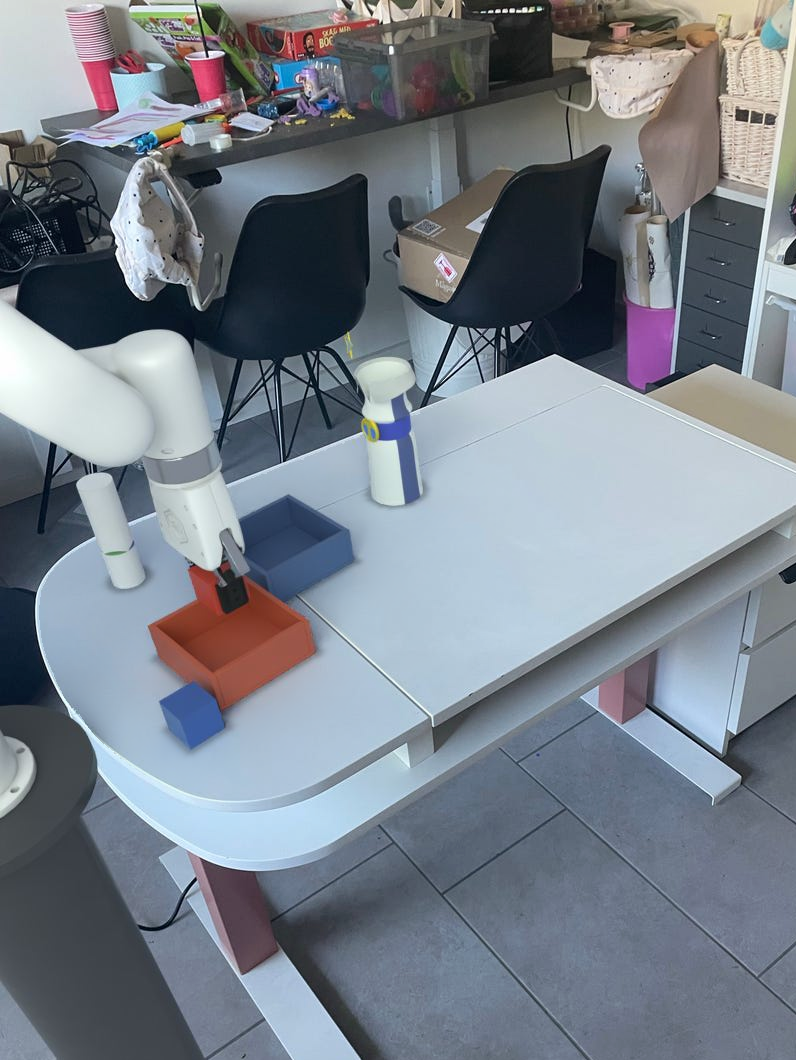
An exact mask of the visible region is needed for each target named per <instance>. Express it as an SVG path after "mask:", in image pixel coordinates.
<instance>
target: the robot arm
mask: <svg viewBox="0 0 796 1060" xmlns="http://www.w3.org/2000/svg"><path fill="white" fill-rule="evenodd" d="M0 414H2V415H4V416H5V417H6V418H8V419H10V420H12V421H14V422H15V423H18V424H19V425H21V426H22V427H24V428H26V429H28V430H29V431H31V432H33V433H35V434H37V435H38V436H40V437H42V438H44V439H46V440H48V441H50V442H51V443H53V444H54V445H57V446H59V447H60V448H62V449H64V450H66V451H68V452H70V453H72V454H74V455H75V456H77V457H79V458H81V459H82V460H84V461H86V462H89V463H91V464H92V465H93V464H94V465H96V466H98V467H99V466H100V467H105V468H119V467H124V466H127V465H130V464H133V463H134V462H136V461H138V460H139V459H141V462H142V465H143V468H144V471H145V474H146V477H147V480H148V485H149V491H150V495H151V498H152V502H153V507H154V510H155V513H156V516H157V521H158V525H159V528H160V530H161V534H162V537H163V539H164V540H165V541H166V542H167V544H168V545H169V546H170V547H171V548H173V549H174V550H175V551H176V552H178V553H180V555H182V556H183V557H184V559H185V561H186V563H187V564H188V565H189V566H188V569H189V568H191V567H193V566H195V565H198V566H199V567H201V568H203V569H205V570H208V571H213V573H214V575H215V578H216V580H217V583H218V584H216V585H215V588H216V591H217V595H218V598H219V601H220V604H221V608H222V611H223V612H224V613H225V614H229V613H231V612H233V611H234V610H236V609H238V608H240V607H241V606H243V605H245V604H247V603H248V601H249V598H248V594H247V591H246V587H245V583H244V580H243V577H244V574H245V573H247V572H249V571H250V568H249V566H248V564H247V563H246V561H245V559H244V557H243V556H242V555H243V554H244V551H245V545H244V539H243V535H242V531H241V527H240V524H239V521H238V519H239V518H238V515H237V514H238V513H237V512H236V508H235V505H234V503H233V499H232V497H231V494H230V492H229V489H228V486H227V484H226V481H225V479H224V477H223V474H222V472H221V469H222V467H223V460H222V457H221V456H222V455H221V453H220V449H219V446H218V442H217V441H218V440H217V438H216V434H215V431H214V428H213V424H212V421H211V420H212V419H211V416H210V413H209V409H208V405H207V401H206V398H205V394H204V390H203V386H202V382H201V379H200V375H199V370H198V367H197V363H196V360H195V355H194V352H193V350H192V346H191V344H190V343H189V341H188V340H187V339H186V338H185V337H184V336H183V335H182V334H180V333H178V332H176V331H174V330H170V329H149V330H143V331H139V332H135V333H131V334H128V335H127V336H125V337H123V338H121V339H119V340H118V341H117V342H115V343H111V344H107V345H106V344H105V345H102V346H101V345H100V346H95V347H90V348H84V349H83V348H82V349H77V350H76V349H74V348H72V347H71V346H69V345H68V344H67V343H65V342H63V341H61V340H60V339H59V338H57V337H56V336H55V335H53V334H52V333H50V332H48V331H47V330H46V329H44V328H42V327H41V326H40V325H38V324H37V323H35V322H34V321H33V320H31V319H30V318H28V317H27V316H26V315H24V314H23V313H22V312H20V311H19V310H18V309H16V308H15V307H13V306H12V305H11V304H10V303H9V302H8V301H6V300H4V299H3V298H2V297H1V296H0ZM222 552H223V554H222ZM228 561H229V563H230V565H231V568H229V569H228V570H226V571H225V572H224V573H223V572H222V570H221V567H220V565H222V564H224V563H226V562H228ZM36 773H37V766H36V761H35V758H34V756H33V754H32V752H31V751H30V749H29V748H28V747H27V746H26V745H25V744H24V743H23V742H21V741H19V740H17V739H14V738H11V737H7V736H3V734H2V732H1V730H0V818H2V817H3V816H5V815H6V814H7V813H9V812H10V811H11V810H12V809H14V808H15V807H16V806H17V805H18V804H19V803H20V802H21V801H22V800H23V799H24V797H25V796H26V795H27V793H28V792H29V790H30V789H31V787H32V785H33V783H34V780H35V777H36Z"/></svg>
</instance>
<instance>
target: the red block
mask: <svg viewBox="0 0 796 1060" xmlns="http://www.w3.org/2000/svg"><path fill="white" fill-rule="evenodd" d="M222 554H223V553H222ZM220 567H221V570H222V572H223V573H224V572H225V571H226V570H228V569H229V568H231V565H230V563H229V561H228V562H226V563H224V564H222V565H220ZM187 572H188V575H189V578H190V581H191V584H192V587H193V591H194V594H195V597H196V599H197V600H198V601H200V602H201V603H202V604H203V605H205V606H206V607H207V608H209V609H210V610H211V611H213V612H214V613H215V614H217V615H218V616H220V615H221V614H223V613H224V612H223V611H222V608H221V604H220V601H219V598H218V595H217V591H216V588H215V585H216V584H218V583H217V580H216V578H215V575H214V573H213V571H208V570H205V569H203V568H201V567H199V566H198V565H195V566H193V567H191V568H189V567H188V569H187ZM243 580H244V583H245V587H246V591H247V594H248V598H251V596H250V592H249V589H248V585H247V581H246V578H245V574H244V577H243Z"/></svg>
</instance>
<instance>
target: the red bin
mask: <svg viewBox="0 0 796 1060" xmlns="http://www.w3.org/2000/svg"><path fill="white" fill-rule="evenodd" d="M245 578H246V581H247V585H248V589H249V592H250V596H251V598H249V601H248V603H247V604H245V605H243V606H241V607H240V608H238V609H236V610H234V611H233V612H231V613H229V614H225V613H223V614H221V615H220V616H218V615H217V614H215V613H214V612H213V611H211V610H210V609H209V608H207V607H206V606H205V605H203V604H202V603H201V602H200V601H198V600H197V598H196V599H195V600H192V601H191V602H189V603H187V604H186V605H183V606H182V607H180V608H178V609H176V610H175V611H173V612H171V613H168V614H167V615H165V616H163V617H161V618H159V619H158V620H155V621H154V622H152V623H151V624H149V625H147V628H148V631H149V634H150V636H151V640H152V642H153V645H154V648H155V651H156V654H157V657H158V659H159V660H161V662H163V663H164V664H165V665H166V666H168V667H169V668H170V669H171V670H172V671H173V672H174V673H176V674H177V675H178V676H179V677H181V679H182V680H183V681H185V682H186V683H187V684H189V683H191V682H192V681H195V682H196V683H197V684H198V685H200V686H201V687H202V688H203V689H204V690H205V691H207V692H208V693H209V694H210V695H211V696H213V697H214V698H215V699H216V701H217V704H218V707H219V711H220V712H223V711H225V710H226V709H228V708H229V707H231V706H232V705H234V704H236V703H238V702H239V701H241V700H243V699H244V698H245V697H247V696H248V695H250V694H252V693H254V692H255V691H256V690H258V689H260V688H261V687H263V686H264V685H266V684H268V683H270V682H271V681H273V680H274V679H276V678H277V677H279V676H281V675H282V674H284V673H286V672H287V671H288V670H289V671H290V669H292V668H294V667H295V666H297V665H299V664H300V663H302V662H303V661H306V660H307V659H308V658H310V657H311V656H313V655H315V654H316V653H317V652H316V648H315V643H314V638H313V634H312V629H311V624H310V620H309V619H308V618H307V617H305V616H304V615H302V614H301V613H300V612H298V611H296V610H295V609H294V608H292V607H291V606H290V605H288V604H287V603H285V601H284V602H282V601H281V600H279V599H278V598H277V597H275V596H274V595H272V594H271V593H269V592H268V591H266V590H265V589H264V588H262V587H261V586H259V585H258V584H256V583H255V582H254V581H252V580H251V579H249V578H248V577H246V576H245Z"/></svg>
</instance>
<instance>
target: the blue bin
mask: <svg viewBox="0 0 796 1060" xmlns="http://www.w3.org/2000/svg"><path fill="white" fill-rule="evenodd" d="M238 521H239V524H240V527H241V531H242V535H243V539H244V545H245V551H244V554H243V555H242V556H243V557H244V559H245V561H246V563H247V564H248V566H249V568H250V571H249V572H247V573H245V576H246V577H248V578H249V579H251V580H252V581H254V582H255V583H256V584H258V585H259V586H261V587H262V588H264V589H265V590H266V591H268V592H269V593H271V594H272V595H274V596H275V597H277V598H278V599H279V600H281V601H282V602H284V603H285V602H286V601H288V600H289V599H291V598H293V597H295V596H297V595H298V594H300V593H301V592H304V591H305V590H307V589H308V588H310V587H313V586H314V585H316V584H317V583H318V582H321V581H322V580H324V579H326V578H328V577H329V576H331V575H333V574H335V573H336V572H338V571H340V570H342V569H343V568H345V567H347V566H349V565H351V564H352V563H354V562H355V556H354V550H353V544H352V538H351V531H350V529H349V528H347V527H345V525H342V524H341V523H339V522H337V521H335V520H333V519H332V518H331V517H329V516H328V515H325V514H324V513H322V512H321V511H318V510H316V509H315V508H314V507H312V506H310V505H308V504H306V503H305V502H303V501H301V500H300V499H298V498H296V497H295V496H293V495H291V494H290V493H287V494H286V495H284V496H282V497H280V498H277V499H275V500H274V501H272V502H269V503H267V504H266V505H263V506H261V507H260V508H258V509H256V510H254V511H252V512H250V513H247V514H246V515H243V516H242V517H240V518H238ZM222 553H223V552H222Z"/></svg>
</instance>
